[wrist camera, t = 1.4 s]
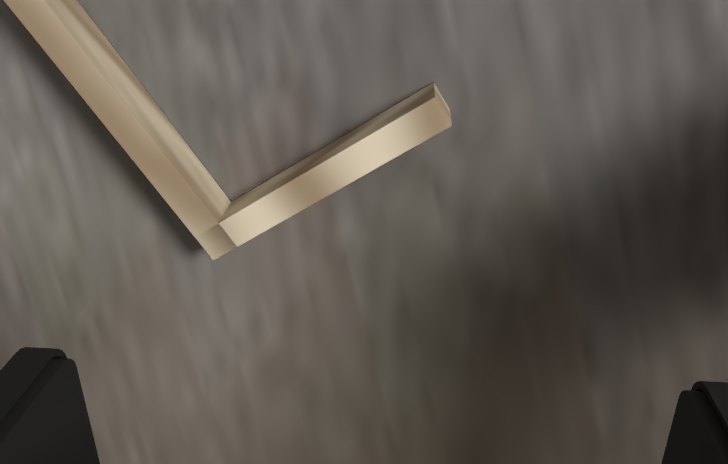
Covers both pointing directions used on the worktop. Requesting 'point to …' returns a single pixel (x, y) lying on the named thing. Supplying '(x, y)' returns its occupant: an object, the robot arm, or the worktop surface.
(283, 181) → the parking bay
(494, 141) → the worktop surface
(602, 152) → the worktop surface
